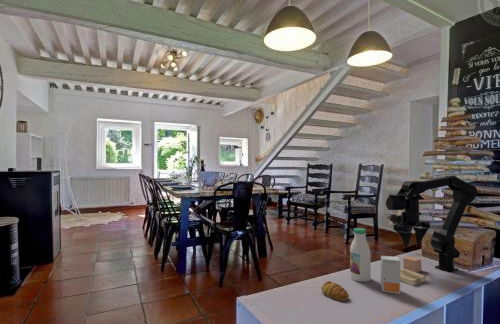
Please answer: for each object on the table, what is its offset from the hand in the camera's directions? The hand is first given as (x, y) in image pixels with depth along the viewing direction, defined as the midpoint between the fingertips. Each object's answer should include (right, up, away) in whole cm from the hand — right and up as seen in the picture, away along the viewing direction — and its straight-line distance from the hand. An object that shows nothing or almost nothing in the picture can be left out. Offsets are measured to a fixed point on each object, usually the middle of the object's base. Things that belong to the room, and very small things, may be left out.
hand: (412, 245), depth 122 cm
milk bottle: (-27, -11, -10) cm, 30 cm away
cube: (0, -11, 0) cm, 11 cm away
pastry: (-41, -11, -24) cm, 49 cm away
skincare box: (-20, -10, -21) cm, 31 cm away
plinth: (-8, -10, -11) cm, 17 cm away
